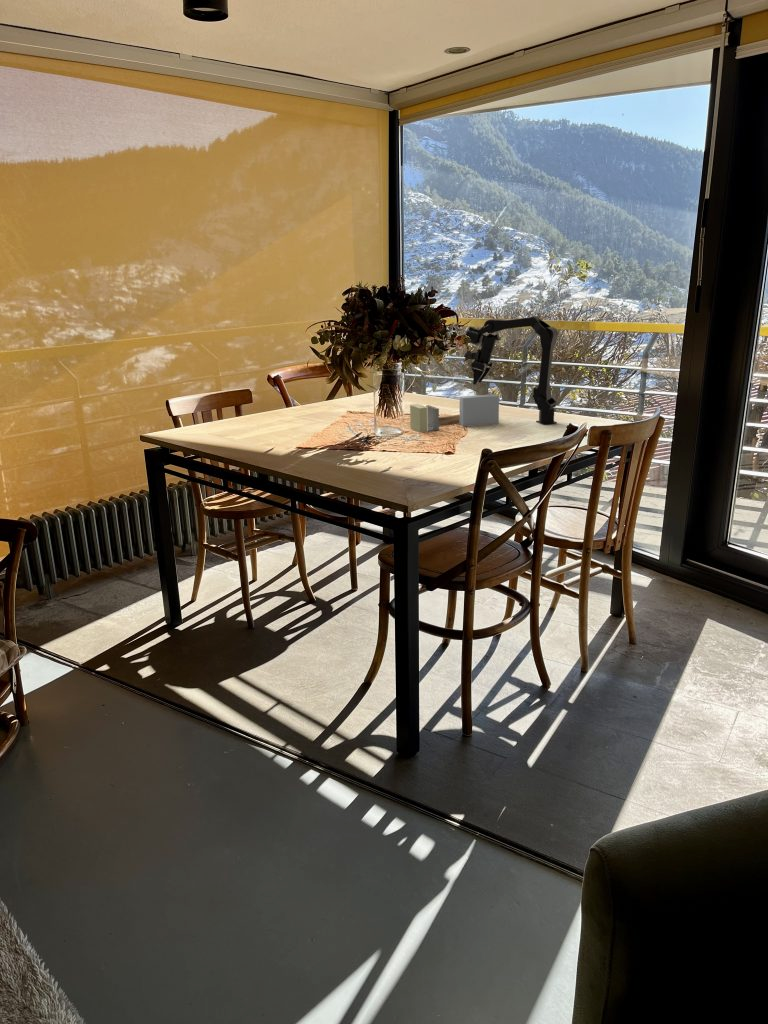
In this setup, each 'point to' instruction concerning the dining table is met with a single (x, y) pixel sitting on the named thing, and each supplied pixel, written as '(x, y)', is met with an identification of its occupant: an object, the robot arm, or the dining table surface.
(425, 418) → the shelved book
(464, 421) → the boxed book
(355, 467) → the dining table surface
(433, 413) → the bookend
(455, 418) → the rail
